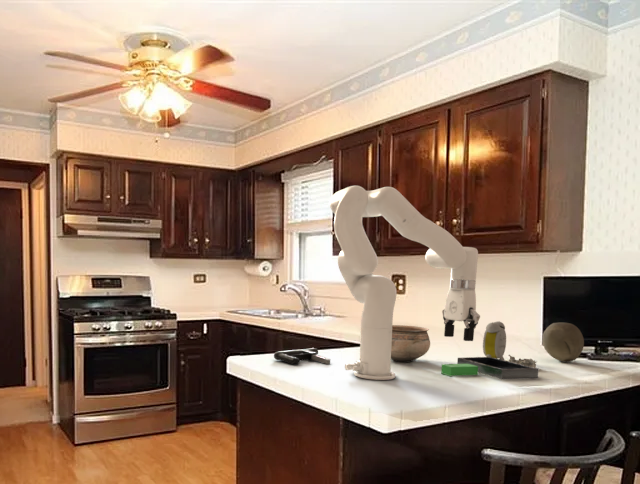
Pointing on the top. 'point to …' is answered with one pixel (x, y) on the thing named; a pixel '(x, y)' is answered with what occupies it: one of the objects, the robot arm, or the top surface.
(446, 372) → the block
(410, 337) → the cooking pot
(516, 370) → the dark grey tray
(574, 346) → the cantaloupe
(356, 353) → the top surface
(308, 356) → the door handle
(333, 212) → the robot arm
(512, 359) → the grey lumpy piece
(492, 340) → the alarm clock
